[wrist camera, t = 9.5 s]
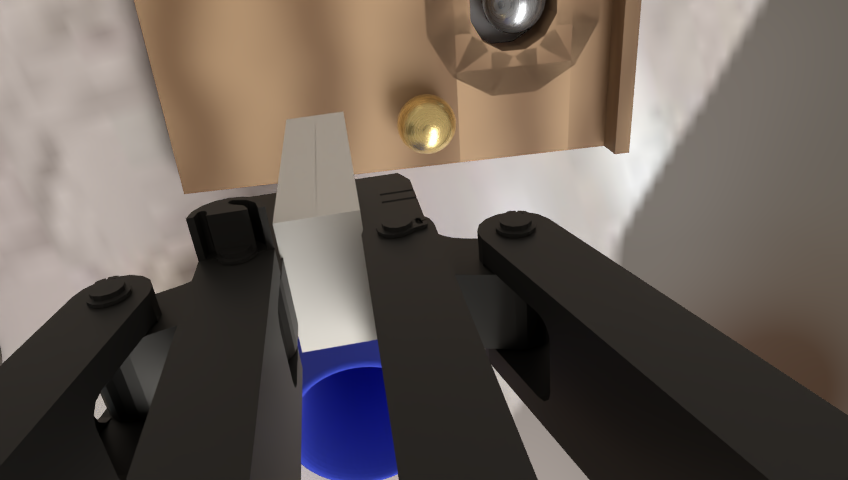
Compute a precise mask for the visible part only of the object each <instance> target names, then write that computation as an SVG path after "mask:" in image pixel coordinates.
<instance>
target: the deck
mask: <svg viewBox="0 0 848 480" xmlns="http://www.w3.org/2000/svg"><path fill="white" fill-rule="evenodd" d="M134 3H135V7H136V10H137V14H138V18H139V22H140V26H141V30H142V34H143V37H144V41H145V45H146V49H147V53H148V57H149V60H150V64H151V68H152V72H153V76H154V80H155V83H156V87H157V91H158V95H159V99H160V103H161V106H162V110H163V114H164V118H165V122H166V126H167V130H168V133H169V137H170V141H171V145H172V149H173V153H174V156H175V160H176V164H177V168H178V172H179V176H180V179H181V183H182V187H183V191H184V194H189V193H198V192H206V191H215V190H224V189H232V188H241V187H250V186H258V185H267V184H276V183H278V179H279V171H280V164H281V156H282V149H283V142H284V134H285V127H286V120H287V119H294V118H301V117H308V116H315V115H323V114H330V113H337V112H343V113H344V119H345V124H346V130H347V136H348V142H349V148H350V154H351V160H352V166H353V172H354V174H362V173H371V172H380V171H389V170H397V169H406V168H415V167H423V166H432V165H441V164H449V163H458V162H467V161H475V160H484V159H493V158H501V157H510V156H519V155H527V154H536V153H545V152H553V151H562V150H571V149H579V148H588V147H597V146H605V147H606V148H608V149H609V150H610V151H611V152H613V153H614V154H620V153H629V145H630V133H631V121H632V109H633V97H634V84H635V72H636V60H637V48H638V35H639V23H640V11H641V0H545V6H544V10H543V12H542V14H541V16H540V18H539V19H538V20H537V22H536V23H535V24H534V25H533V26H532V27H531V29H529V30H528V31H527V32H525V33H524V34H522V35H521V36H520V37H518V38H517V39H515V40H514V41H512V42H502V43H492V44H491V43H489V42H487V41H485V40H483V39H481V38H480V36H479V35H478V33H477V31H476V30H475V28H474V26H473V25H472V23H471V21H470V0H134ZM422 94H431V95H435V96H438V97H440V98H442V99H443V100H445V101H446V102H447V103H448V104H449V105H450V107H451V108H452V110H453V112H454V114H455V118H456V130H455V134H454V136H453V138H452V140H451V141H450V143H449V144H448V145H447V146H446V147H445V148H444V149H442V150H440V151H438V152H436V153H432V154H421V153H418V152H415V151H413V150H411V149H410V148H408V147H407V146H406V145H405V144H404V143H403V141H402V140H401V138H400V136H399V133H398V128H397V120H398V115H399V113H400V110H401V109H402V107H403V106H404V104H405V103H406V102H407V101H409V100H410V99H411V98H413V97H415V96H418V95H422Z"/></svg>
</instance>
